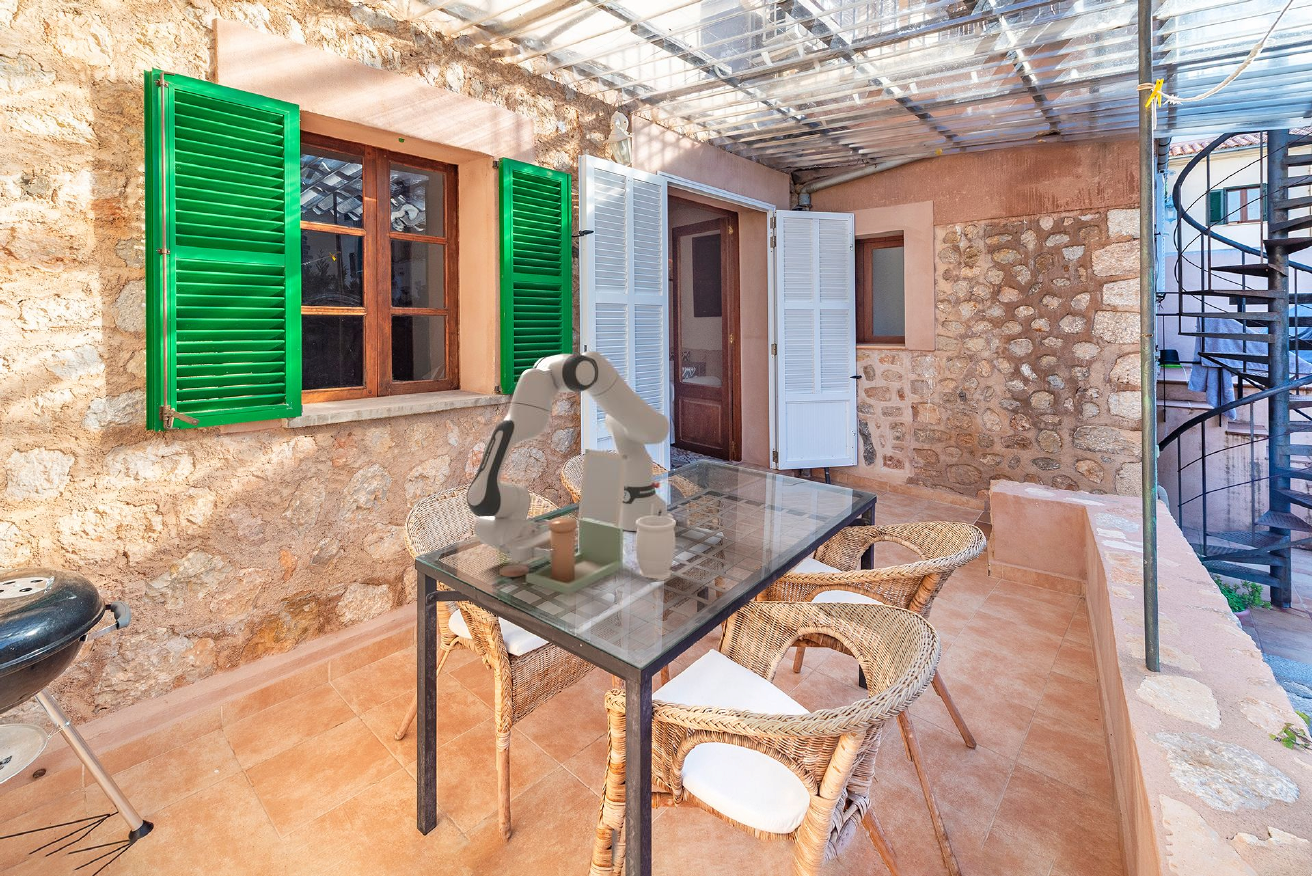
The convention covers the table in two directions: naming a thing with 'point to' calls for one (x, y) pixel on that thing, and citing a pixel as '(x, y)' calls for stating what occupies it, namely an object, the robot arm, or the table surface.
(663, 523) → the jar
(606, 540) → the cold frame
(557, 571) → the orange-brown capped cylinder
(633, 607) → the table surface
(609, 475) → the lid
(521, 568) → the terracotta round disc
